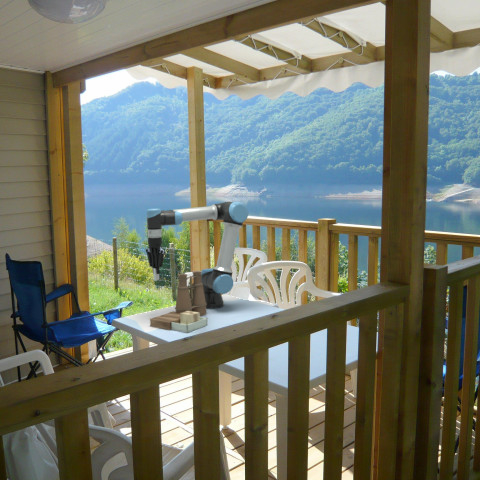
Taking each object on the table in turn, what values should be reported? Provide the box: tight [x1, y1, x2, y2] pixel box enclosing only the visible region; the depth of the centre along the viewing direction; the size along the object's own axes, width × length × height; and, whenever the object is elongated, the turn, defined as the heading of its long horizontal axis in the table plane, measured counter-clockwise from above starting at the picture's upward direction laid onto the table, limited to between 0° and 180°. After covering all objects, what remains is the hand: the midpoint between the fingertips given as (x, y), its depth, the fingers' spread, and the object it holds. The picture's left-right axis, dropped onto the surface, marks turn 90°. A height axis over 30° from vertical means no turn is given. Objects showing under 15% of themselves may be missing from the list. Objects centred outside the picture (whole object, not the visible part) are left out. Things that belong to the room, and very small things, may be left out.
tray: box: [171, 316, 208, 334], centre depth 262 cm, size 16×11×4 cm
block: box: [180, 311, 201, 325], centre depth 262 cm, size 6×7×8 cm
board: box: [149, 311, 181, 331], centre depth 269 cm, size 18×14×4 cm
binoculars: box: [174, 270, 207, 317], centre depth 284 cm, size 21×10×25 cm, turn 137°
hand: (156, 279), depth 277 cm, fingers closed
